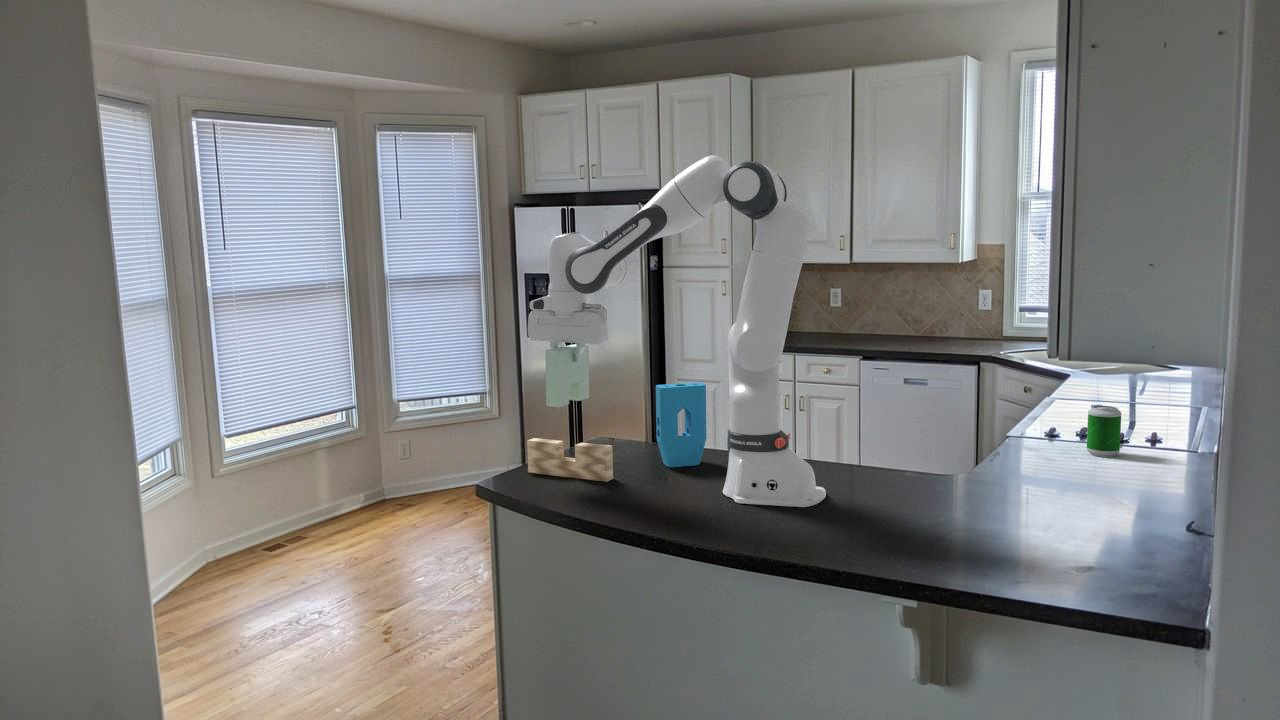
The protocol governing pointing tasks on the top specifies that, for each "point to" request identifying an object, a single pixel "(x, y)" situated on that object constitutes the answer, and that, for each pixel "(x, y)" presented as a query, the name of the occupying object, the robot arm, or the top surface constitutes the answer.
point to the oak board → (570, 460)
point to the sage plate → (566, 376)
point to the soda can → (1103, 431)
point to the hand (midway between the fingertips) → (567, 361)
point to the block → (667, 408)
